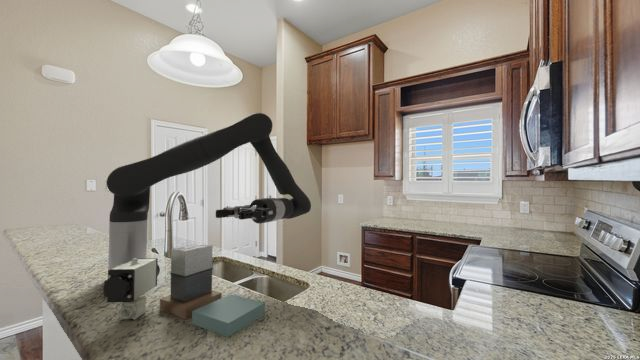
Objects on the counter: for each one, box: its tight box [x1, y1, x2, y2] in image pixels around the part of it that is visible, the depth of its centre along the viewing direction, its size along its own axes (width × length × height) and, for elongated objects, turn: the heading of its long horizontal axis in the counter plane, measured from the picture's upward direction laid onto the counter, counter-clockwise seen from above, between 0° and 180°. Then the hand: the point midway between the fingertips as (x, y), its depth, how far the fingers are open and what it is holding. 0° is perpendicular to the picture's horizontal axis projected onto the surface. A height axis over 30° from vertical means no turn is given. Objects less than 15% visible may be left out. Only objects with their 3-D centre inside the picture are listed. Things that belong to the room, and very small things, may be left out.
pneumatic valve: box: [102, 257, 161, 321], centre depth 57 cm, size 6×12×12 cm, turn 3°
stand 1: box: [159, 289, 222, 321], centre depth 61 cm, size 9×9×2 cm
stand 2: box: [191, 293, 266, 338], centre depth 56 cm, size 10×10×2 cm
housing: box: [169, 242, 214, 303], centre depth 62 cm, size 5×7×11 cm
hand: (227, 214), depth 71 cm, fingers open, 8 cm apart
